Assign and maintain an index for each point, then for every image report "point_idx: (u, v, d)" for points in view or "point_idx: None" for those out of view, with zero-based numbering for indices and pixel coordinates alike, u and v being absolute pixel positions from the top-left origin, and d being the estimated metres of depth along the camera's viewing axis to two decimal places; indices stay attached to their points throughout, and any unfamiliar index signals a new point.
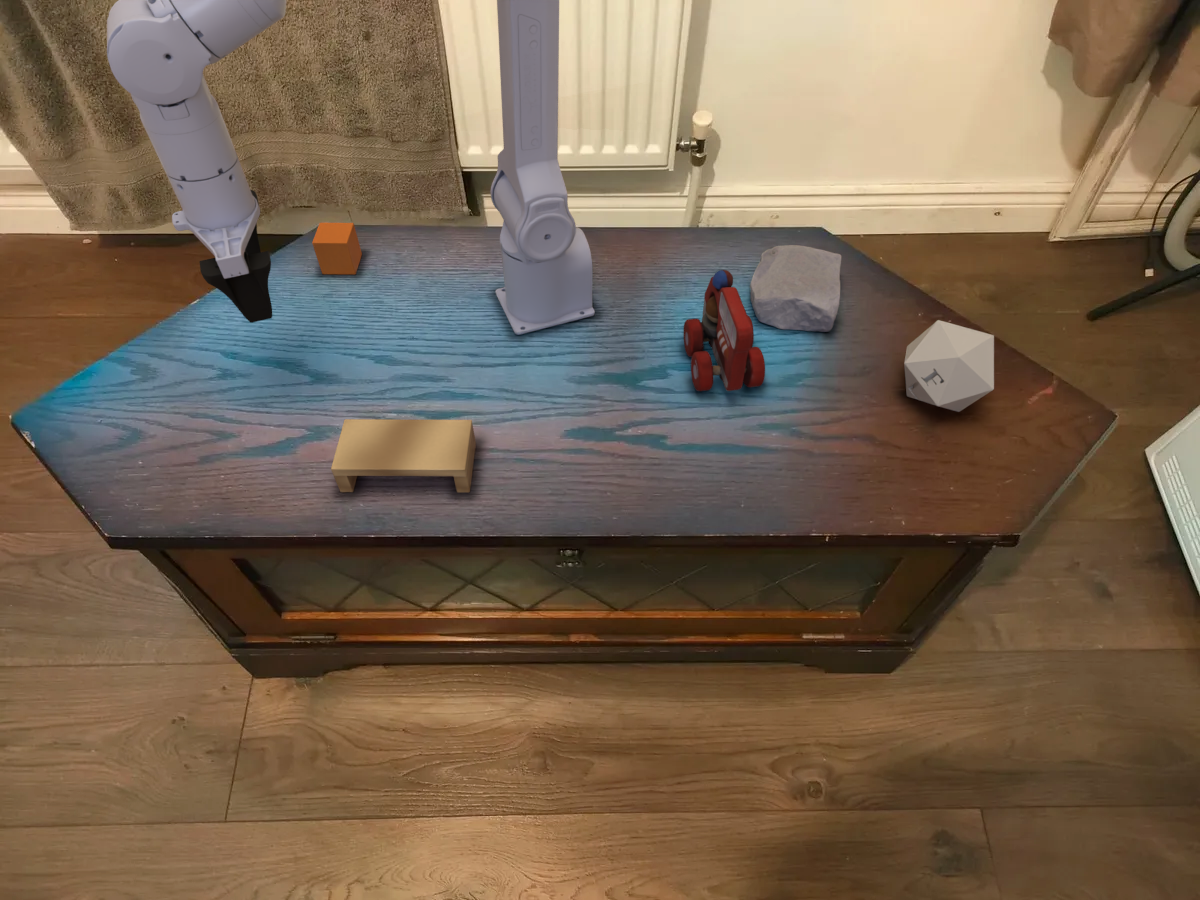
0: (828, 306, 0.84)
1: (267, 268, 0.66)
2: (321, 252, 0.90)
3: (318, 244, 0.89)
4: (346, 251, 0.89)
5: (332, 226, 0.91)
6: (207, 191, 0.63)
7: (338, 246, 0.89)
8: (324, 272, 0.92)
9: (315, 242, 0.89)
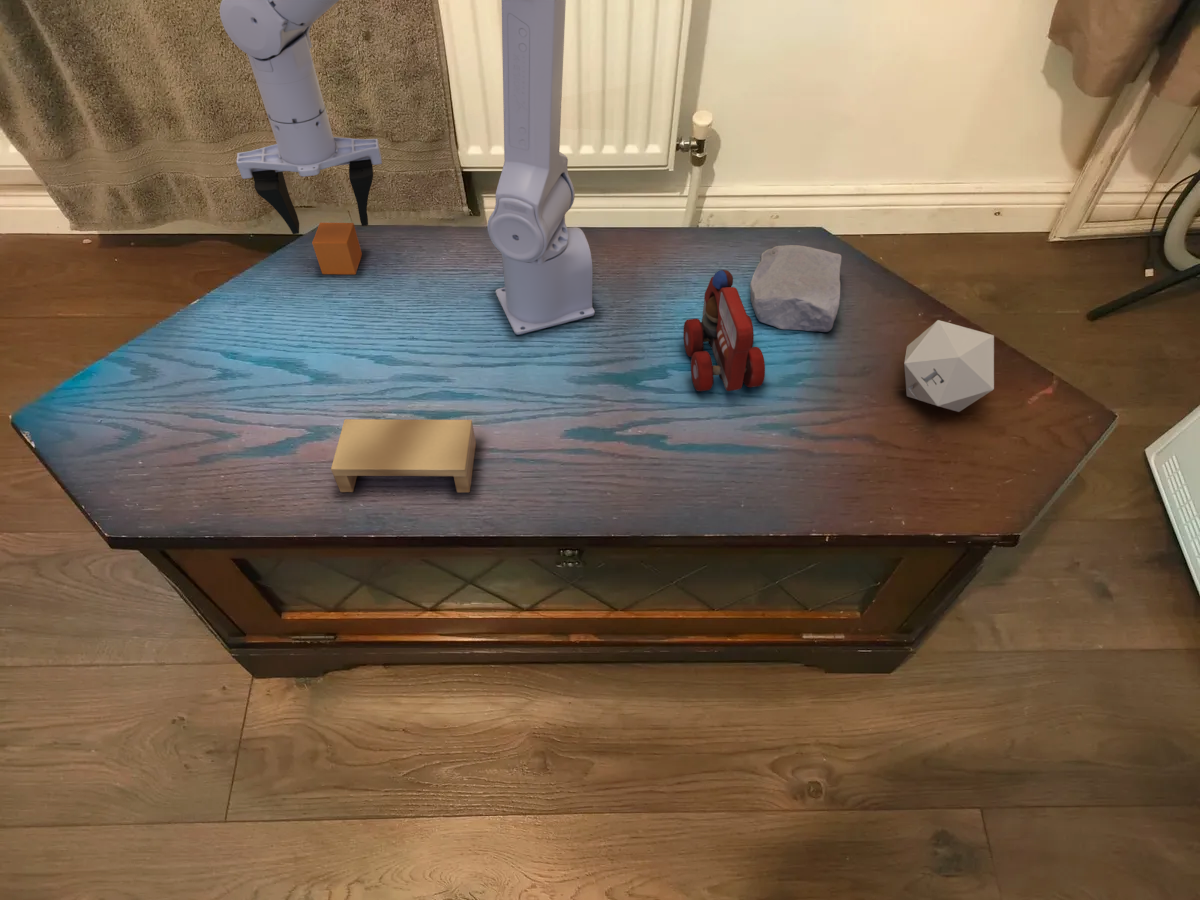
0: (828, 306, 0.84)
1: None
2: (321, 252, 0.90)
3: (318, 244, 0.89)
4: (346, 251, 0.89)
5: (332, 226, 0.91)
6: (327, 116, 0.80)
7: (338, 246, 0.89)
8: (324, 272, 0.92)
9: (315, 242, 0.89)
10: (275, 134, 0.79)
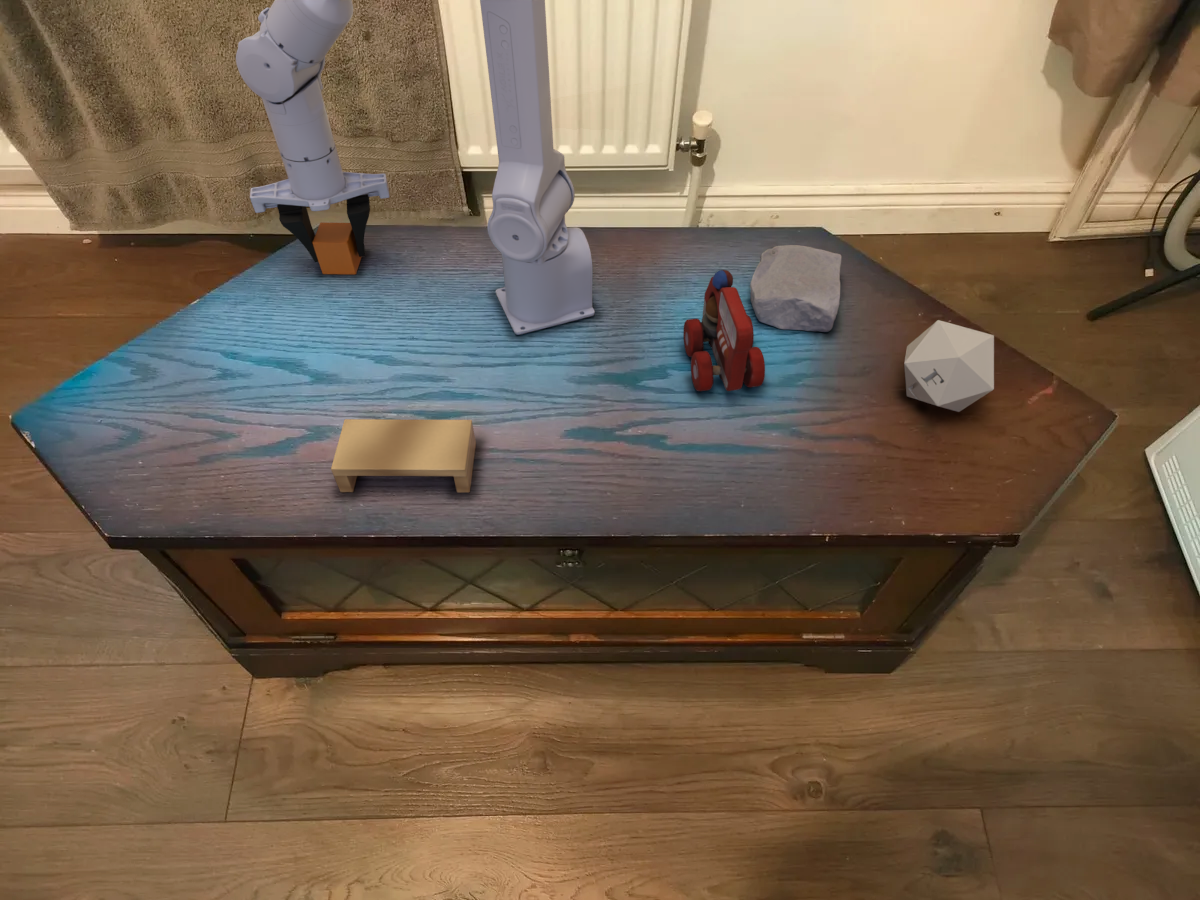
0: (828, 306, 0.84)
1: None
2: (321, 252, 0.90)
3: (318, 244, 0.89)
4: (346, 251, 0.89)
5: (332, 226, 0.91)
6: (337, 153, 0.83)
7: (339, 246, 0.89)
8: (324, 272, 0.92)
9: (315, 242, 0.89)
10: (287, 171, 0.82)
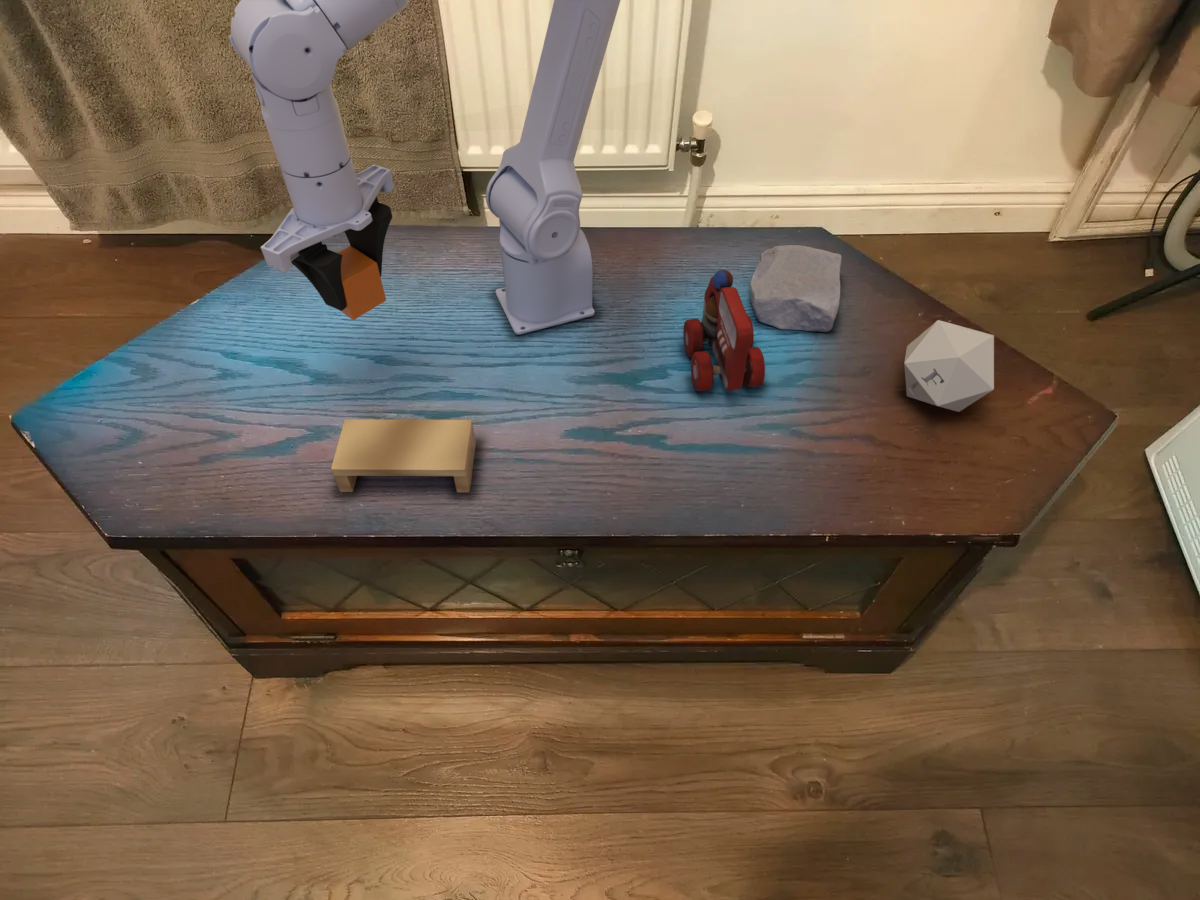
0: (828, 306, 0.84)
1: None
2: (351, 291, 0.71)
3: (348, 280, 0.70)
4: (377, 274, 0.73)
5: None
6: None
7: (369, 272, 0.72)
8: (355, 316, 0.73)
9: (344, 280, 0.70)
10: (313, 196, 0.63)
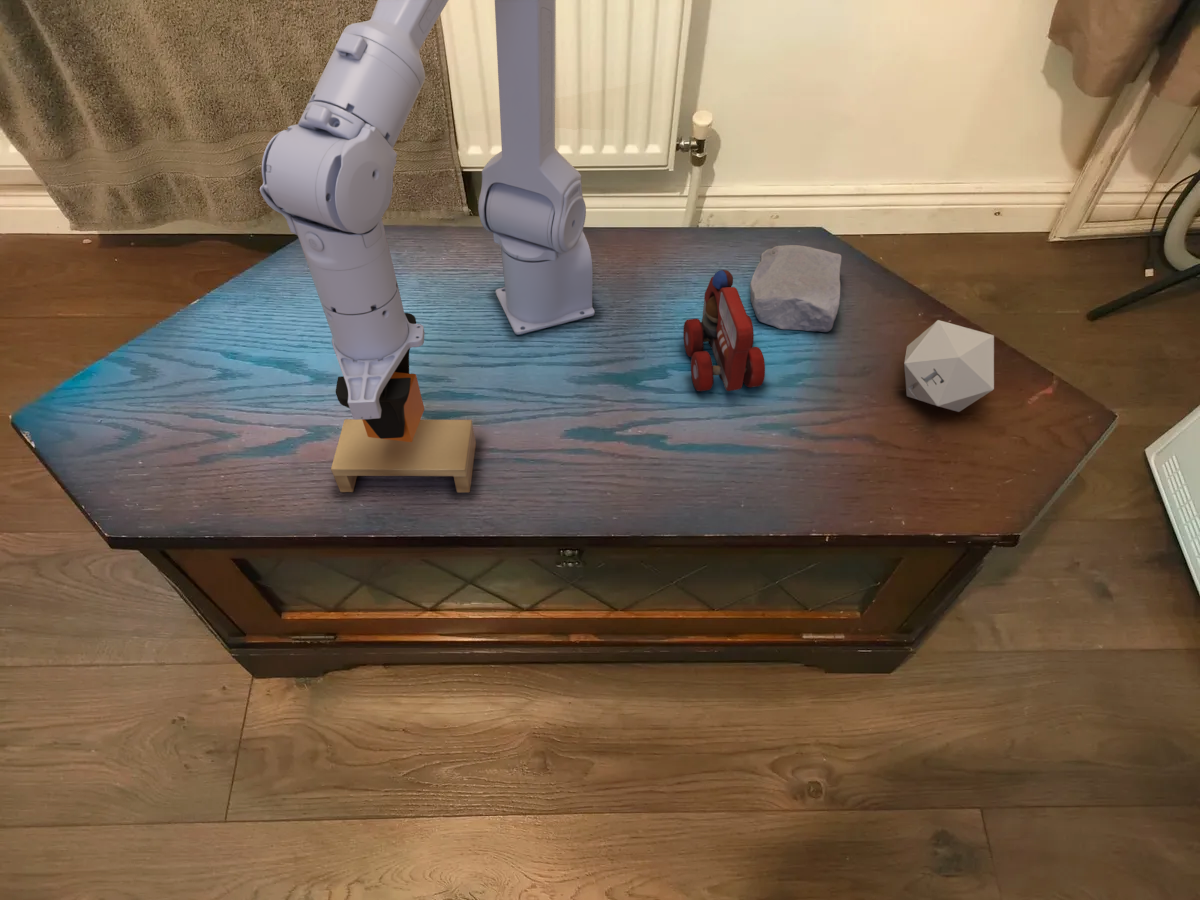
0: (828, 306, 0.84)
1: None
2: (407, 412, 0.66)
3: (405, 403, 0.65)
4: (417, 386, 0.67)
5: None
6: None
7: (413, 386, 0.66)
8: (412, 437, 0.68)
9: None
10: (379, 327, 0.57)
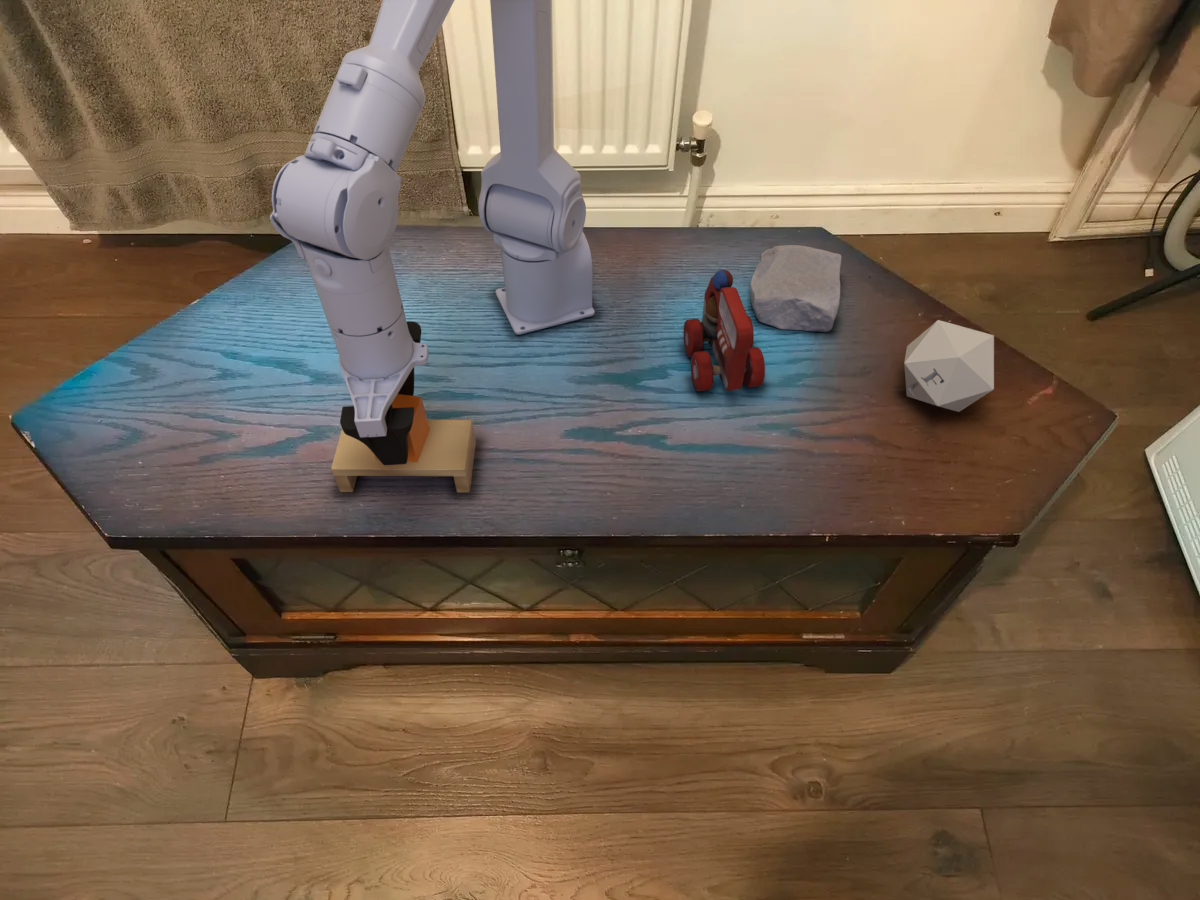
0: (828, 306, 0.84)
1: None
2: (413, 434, 0.68)
3: None
4: (423, 407, 0.69)
5: None
6: None
7: (419, 408, 0.68)
8: (417, 457, 0.70)
9: None
10: (384, 348, 0.59)
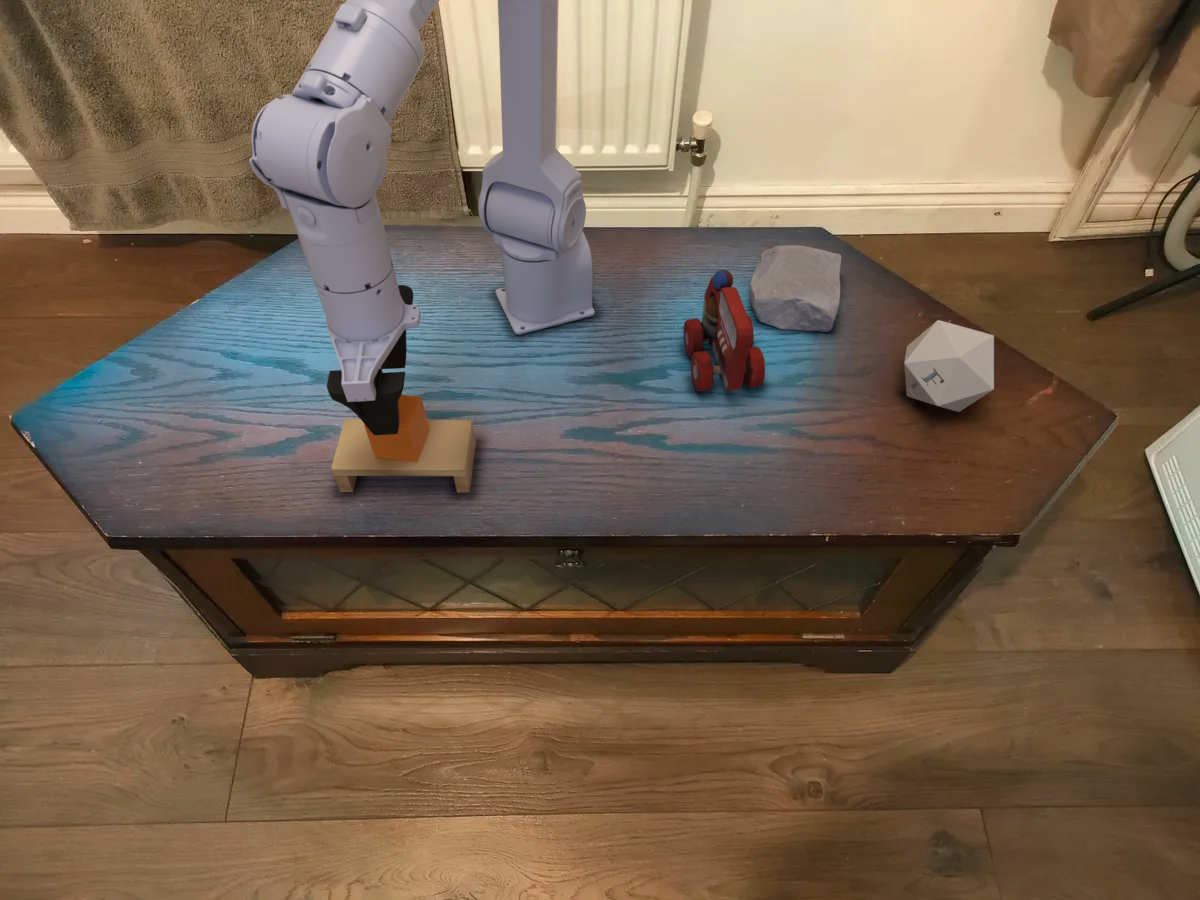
0: (828, 306, 0.84)
1: None
2: (413, 434, 0.68)
3: (411, 425, 0.67)
4: (423, 407, 0.69)
5: None
6: None
7: (419, 408, 0.68)
8: (417, 457, 0.70)
9: (408, 426, 0.67)
10: (373, 307, 0.56)
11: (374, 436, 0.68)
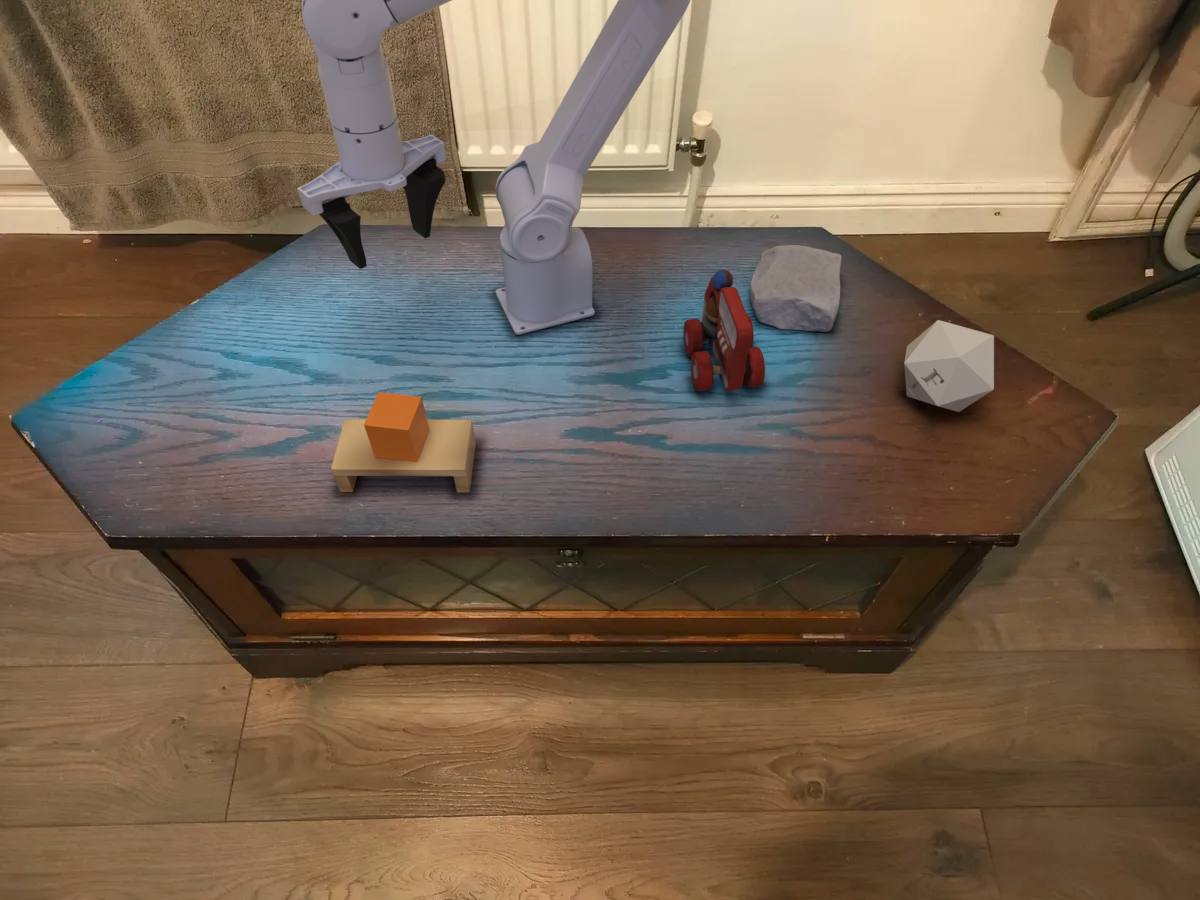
0: (828, 306, 0.84)
1: None
2: (413, 434, 0.68)
3: (411, 425, 0.67)
4: (423, 407, 0.69)
5: (378, 411, 0.68)
6: None
7: (419, 408, 0.68)
8: (417, 457, 0.70)
9: (408, 426, 0.67)
10: (352, 151, 0.67)
11: (374, 436, 0.68)
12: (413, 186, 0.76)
